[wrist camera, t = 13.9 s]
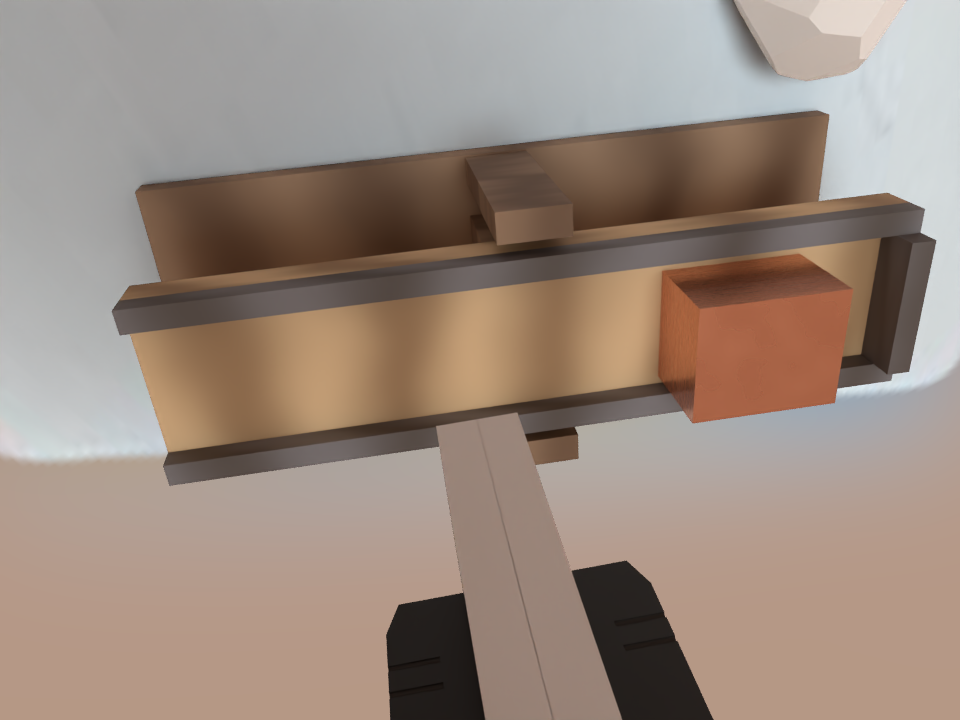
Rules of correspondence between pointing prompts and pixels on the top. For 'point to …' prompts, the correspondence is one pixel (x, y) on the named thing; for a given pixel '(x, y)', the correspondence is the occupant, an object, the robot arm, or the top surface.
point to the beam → (482, 333)
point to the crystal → (817, 33)
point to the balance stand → (482, 200)
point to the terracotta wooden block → (752, 336)
